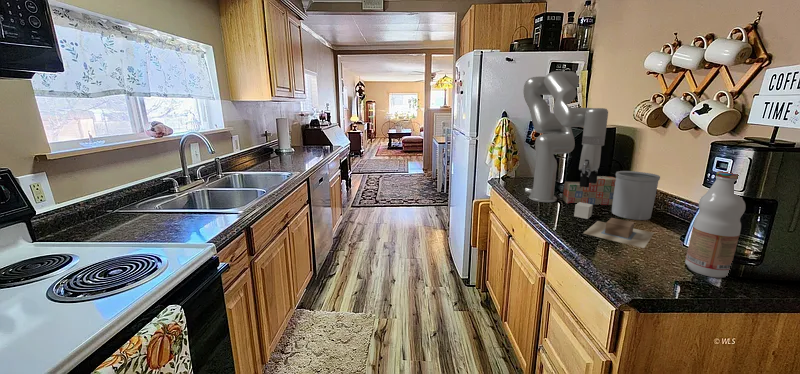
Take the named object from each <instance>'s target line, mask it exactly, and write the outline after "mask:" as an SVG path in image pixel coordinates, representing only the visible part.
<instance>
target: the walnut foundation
mask: <svg viewBox="0 0 800 374" xmlns="http://www.w3.org/2000/svg"><path fill="white" fill-rule="evenodd" d="M605 223H606V228H605V233H606V234H611V235H615V236H619V237H624V238H629V237H630V235H631V234H632V233H633V228H634V227H635V222H634V221H630V220H625V219H620V218H616V217H615V218H614V217H610V218H609V220H607V221H605Z"/></svg>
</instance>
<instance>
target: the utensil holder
mask: <svg viewBox="0 0 800 374" xmlns="http://www.w3.org/2000/svg"><path fill="white" fill-rule="evenodd" d="M615 178H616V181H615V188H614V196H613V203H612V205H611V213H612V214H613V215H615V216H617V217H620V218H625V219H629V220H635V221H646V220H650V219H651V217H652V213H653V208H654V204H655V200H656V195H657V191H658V185H659V182H660V179H661V175H659V174H656V173H650V172H643V171H633V170H632V171H631V170H620V171H619V170H618V171H616V172H615Z"/></svg>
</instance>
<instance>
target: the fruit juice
mask: <svg viewBox="0 0 800 374" xmlns="http://www.w3.org/2000/svg"><path fill="white" fill-rule="evenodd" d="M723 171H724V170H719V171H716V174H715V181H714V182H713V184H712V185H711V187H710V188H709V189H708V191H707V192H706V193H704V194H703V195H702V196H701V197H700V199H699V201H698V209H699V211H698V213H697V214H696V216H695V218H694V221H693V224H692V230H691V234H690V238H689V243H688V247H687V252H686V257H685V261H684V263H685V265H686V268H687V269H688V270H690V271H691V272H694V273H696V274H699V275H702V276H706V277H710V278H726V276H727V277H728V276H729V275H728V273H729V270H730V271H731V269H730V266H731V267H732V265H731V263H732V264H733V262H732V261H734V257H735V254H736V249H737V247H738V241H739V238H740V235H741V231H742V222H741V218H742V216H743V214H744V213H745V211H746V205H747V204H746V202H745V200H744V198H743V197H740V196H738V195H735V194H734V182H735V181H737V179H738V176H739V175H738V174H733V173H728V172H729V171H728V172H723ZM729 274H730V273H729Z"/></svg>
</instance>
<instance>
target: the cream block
mask: <svg viewBox="0 0 800 374" xmlns="http://www.w3.org/2000/svg"><path fill="white" fill-rule="evenodd" d="M593 208H594V204H587V203H582V202H579V203H577V204H574V214H573V217H575V218H581V219H585V220H588V219H590V217H592V215H593Z"/></svg>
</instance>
